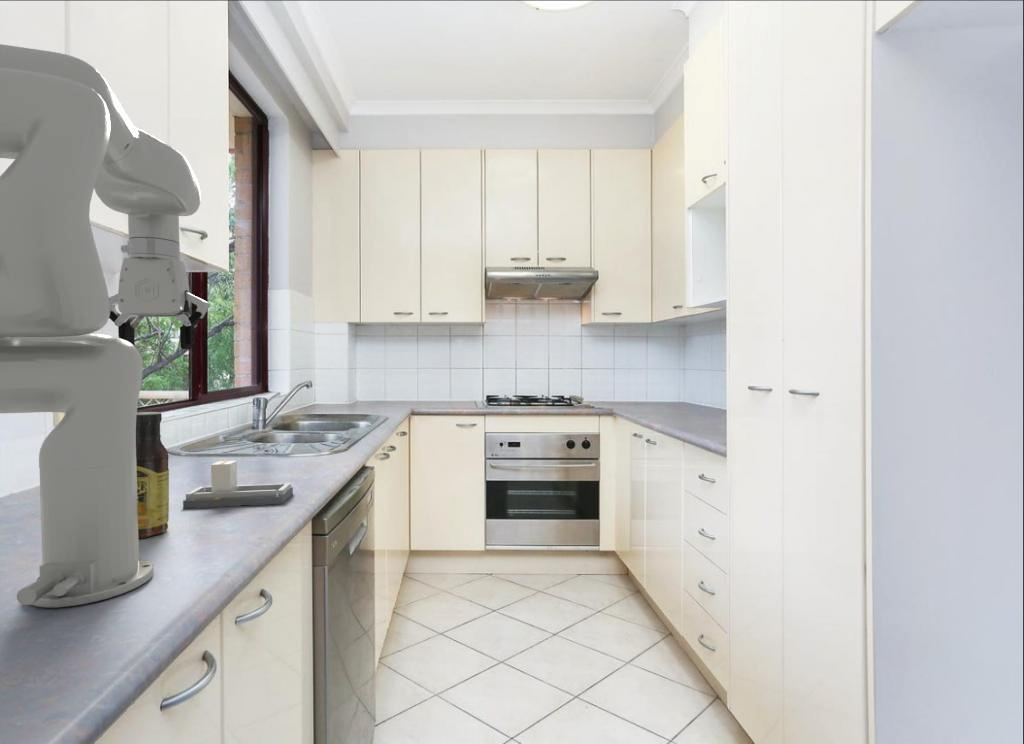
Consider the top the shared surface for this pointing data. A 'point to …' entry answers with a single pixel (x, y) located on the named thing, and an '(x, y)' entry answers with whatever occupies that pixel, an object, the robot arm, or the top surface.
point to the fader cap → (224, 476)
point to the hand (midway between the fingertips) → (157, 349)
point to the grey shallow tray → (238, 496)
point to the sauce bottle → (151, 476)
